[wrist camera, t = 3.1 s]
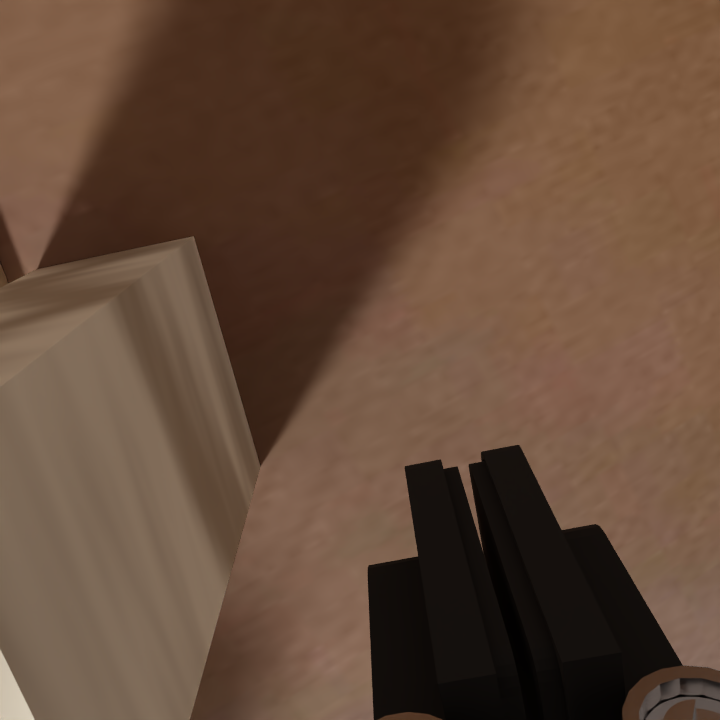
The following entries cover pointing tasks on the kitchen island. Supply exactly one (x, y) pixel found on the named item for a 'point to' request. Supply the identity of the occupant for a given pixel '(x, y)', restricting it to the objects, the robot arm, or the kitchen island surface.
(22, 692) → the birch block
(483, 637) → the robot arm
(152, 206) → the kitchen island surface
